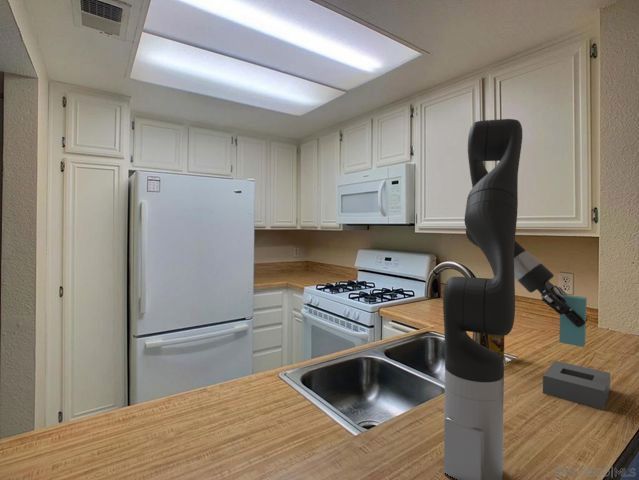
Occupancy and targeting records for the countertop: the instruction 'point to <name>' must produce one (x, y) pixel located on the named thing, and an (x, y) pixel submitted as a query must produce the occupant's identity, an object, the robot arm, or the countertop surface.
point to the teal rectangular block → (567, 328)
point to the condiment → (497, 345)
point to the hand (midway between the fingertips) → (583, 323)
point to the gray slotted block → (577, 384)
